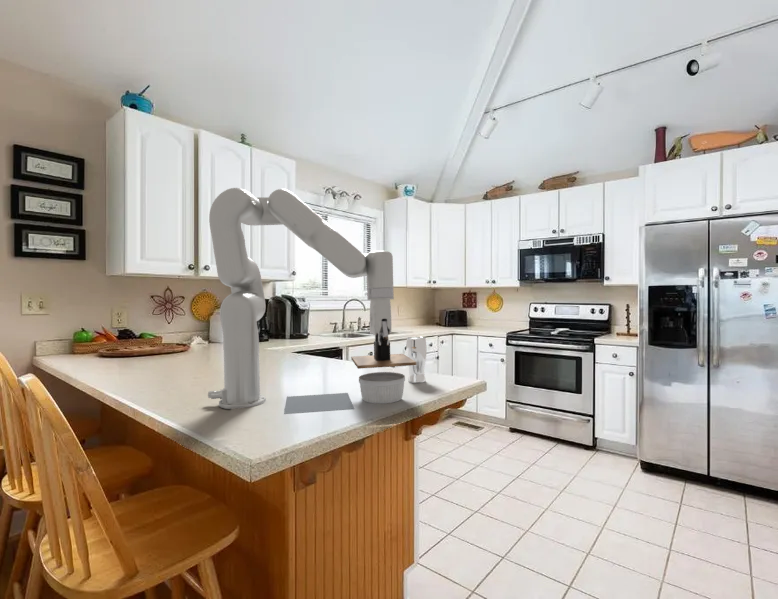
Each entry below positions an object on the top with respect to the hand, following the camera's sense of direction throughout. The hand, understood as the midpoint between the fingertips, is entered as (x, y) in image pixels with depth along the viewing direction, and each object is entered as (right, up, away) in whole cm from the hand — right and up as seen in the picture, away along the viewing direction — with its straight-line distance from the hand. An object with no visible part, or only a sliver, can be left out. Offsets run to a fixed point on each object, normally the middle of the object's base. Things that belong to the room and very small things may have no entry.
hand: (382, 357), depth 121 cm
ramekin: (0, -12, 0) cm, 12 cm away
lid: (0, -1, 0) cm, 1 cm away
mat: (-18, -12, -3) cm, 22 cm away
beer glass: (+12, -12, +24) cm, 29 cm away
